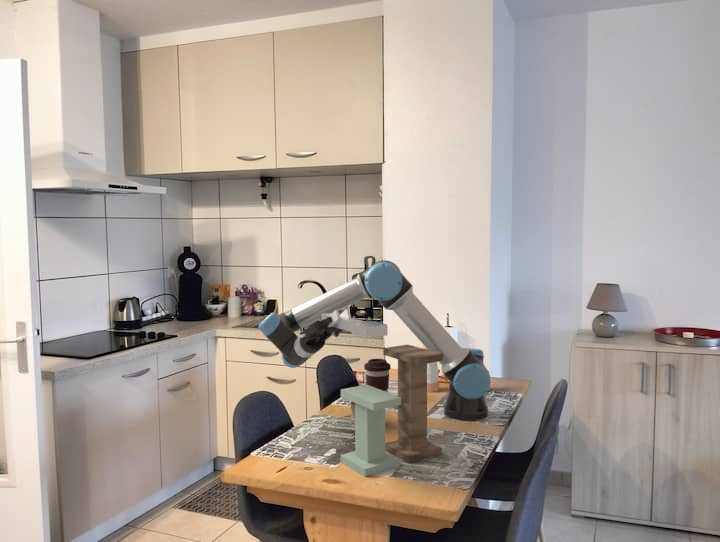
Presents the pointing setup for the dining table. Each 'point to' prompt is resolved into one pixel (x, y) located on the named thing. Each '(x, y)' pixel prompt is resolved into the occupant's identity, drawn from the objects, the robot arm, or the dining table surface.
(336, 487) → the dining table surface
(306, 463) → the dining table surface
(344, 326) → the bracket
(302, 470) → the dining table surface
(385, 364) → the coffee cup
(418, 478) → the dining table surface
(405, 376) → the tall stand
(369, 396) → the low stand
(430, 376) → the pepper shaker
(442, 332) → the robot arm
